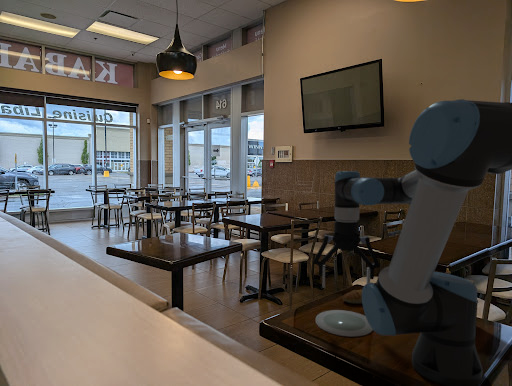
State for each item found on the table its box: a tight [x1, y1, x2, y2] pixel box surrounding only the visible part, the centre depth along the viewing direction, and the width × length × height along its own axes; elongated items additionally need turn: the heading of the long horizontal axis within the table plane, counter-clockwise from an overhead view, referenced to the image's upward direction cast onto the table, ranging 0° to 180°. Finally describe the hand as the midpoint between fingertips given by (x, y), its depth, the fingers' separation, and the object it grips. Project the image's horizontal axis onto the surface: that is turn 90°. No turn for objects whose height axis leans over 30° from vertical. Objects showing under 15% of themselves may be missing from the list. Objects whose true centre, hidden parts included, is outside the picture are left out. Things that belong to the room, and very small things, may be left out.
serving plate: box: [315, 309, 374, 338], centre depth 112 cm, size 18×18×1 cm
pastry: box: [342, 288, 363, 304], centre depth 130 cm, size 9×7×4 cm
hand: (345, 287), depth 111 cm, fingers open, 13 cm apart
